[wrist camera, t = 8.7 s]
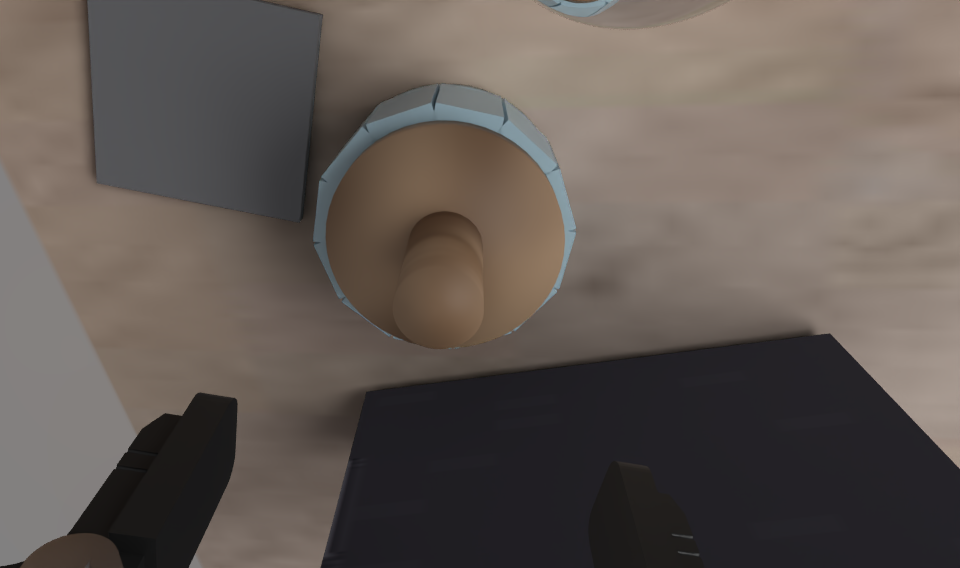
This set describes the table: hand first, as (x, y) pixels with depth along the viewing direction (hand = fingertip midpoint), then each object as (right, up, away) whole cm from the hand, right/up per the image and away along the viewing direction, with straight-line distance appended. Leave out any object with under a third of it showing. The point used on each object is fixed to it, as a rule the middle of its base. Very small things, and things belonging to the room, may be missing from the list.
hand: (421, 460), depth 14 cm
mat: (-10, +12, +14) cm, 21 cm away
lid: (0, +6, +11) cm, 13 cm away
